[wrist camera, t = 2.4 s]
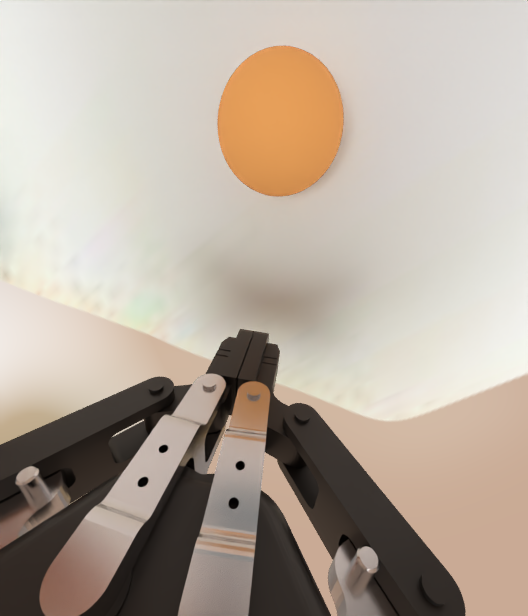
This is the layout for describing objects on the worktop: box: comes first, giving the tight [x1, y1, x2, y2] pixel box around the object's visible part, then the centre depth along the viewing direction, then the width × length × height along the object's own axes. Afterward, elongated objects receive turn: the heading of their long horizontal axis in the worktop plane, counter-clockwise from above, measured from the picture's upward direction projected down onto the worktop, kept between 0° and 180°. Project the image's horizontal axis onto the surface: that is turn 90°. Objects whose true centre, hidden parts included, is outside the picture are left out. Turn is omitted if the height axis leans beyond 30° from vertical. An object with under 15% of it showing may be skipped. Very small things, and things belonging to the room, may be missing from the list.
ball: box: [218, 46, 343, 196], centre depth 12 cm, size 6×6×6 cm
